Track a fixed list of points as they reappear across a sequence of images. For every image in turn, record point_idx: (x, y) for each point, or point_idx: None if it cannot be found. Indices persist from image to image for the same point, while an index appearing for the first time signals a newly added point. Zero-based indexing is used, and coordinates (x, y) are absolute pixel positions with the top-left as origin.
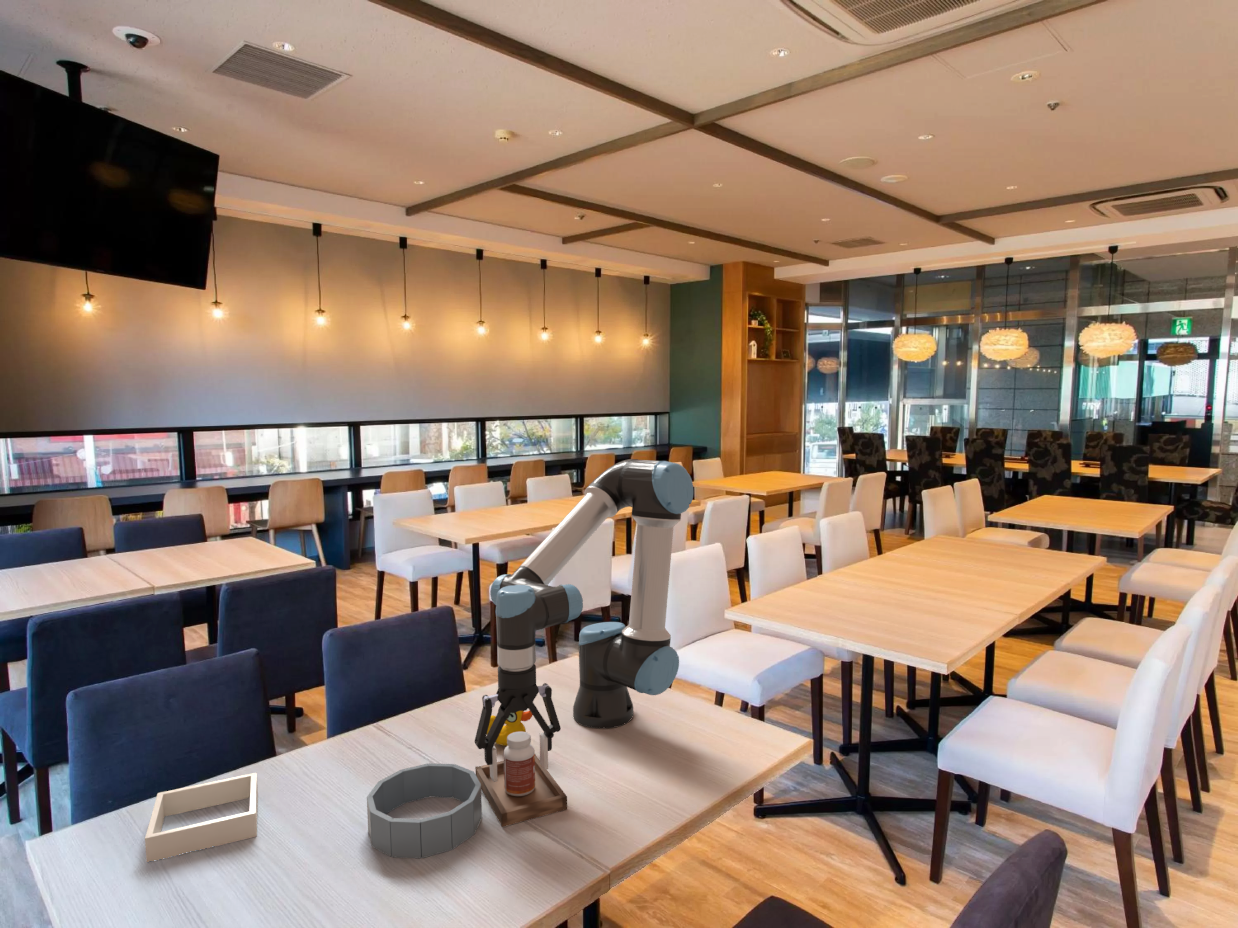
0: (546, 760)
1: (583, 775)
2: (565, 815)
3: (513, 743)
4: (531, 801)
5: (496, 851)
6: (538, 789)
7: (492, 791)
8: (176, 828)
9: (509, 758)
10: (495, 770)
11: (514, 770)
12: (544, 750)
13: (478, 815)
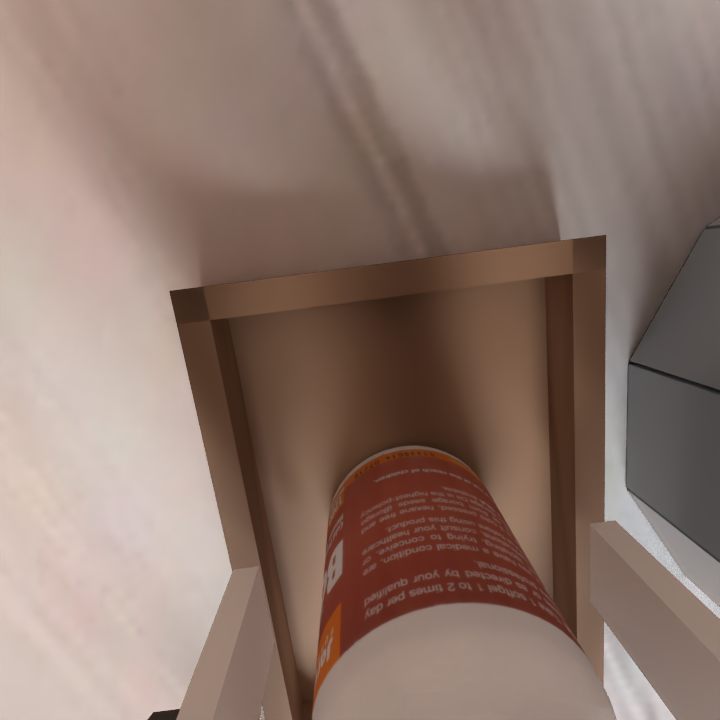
0: (226, 618)
1: (66, 558)
2: (220, 231)
3: None
4: (375, 390)
5: (648, 20)
6: (316, 486)
7: (586, 488)
8: None
9: (583, 659)
10: (657, 578)
11: (504, 549)
12: (213, 708)
13: (699, 310)
